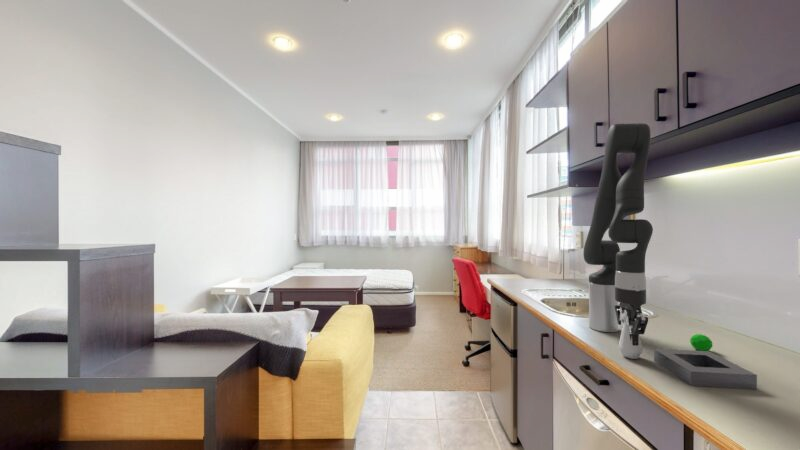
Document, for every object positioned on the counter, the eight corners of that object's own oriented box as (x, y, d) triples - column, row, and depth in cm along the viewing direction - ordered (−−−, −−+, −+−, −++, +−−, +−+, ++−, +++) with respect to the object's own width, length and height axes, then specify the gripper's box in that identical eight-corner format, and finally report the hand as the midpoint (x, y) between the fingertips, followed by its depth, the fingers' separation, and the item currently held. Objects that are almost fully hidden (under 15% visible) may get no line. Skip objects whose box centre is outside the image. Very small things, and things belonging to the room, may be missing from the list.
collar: (654, 360, 92) (654, 348, 91) (709, 363, 89) (709, 351, 89) (690, 385, 78) (690, 371, 78) (756, 389, 76) (756, 374, 76)
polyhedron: (686, 348, 100) (686, 333, 100) (697, 346, 102) (697, 331, 101) (704, 354, 95) (704, 338, 95) (716, 352, 97) (716, 337, 97)
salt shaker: (638, 362, 90) (638, 316, 90) (615, 355, 95) (615, 312, 95) (645, 356, 94) (645, 313, 94) (623, 350, 98) (623, 308, 98)
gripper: (604, 281, 102) (605, 335, 102) (629, 291, 88) (629, 353, 88) (630, 282, 101) (630, 336, 101) (659, 292, 87) (659, 354, 87)
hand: (630, 343), depth 94 cm, fingers closed on salt shaker, 3 cm apart
